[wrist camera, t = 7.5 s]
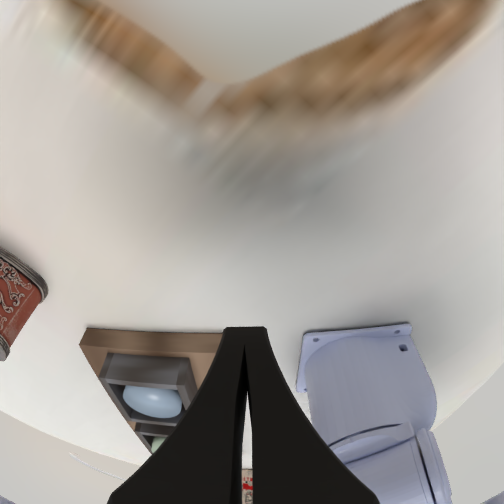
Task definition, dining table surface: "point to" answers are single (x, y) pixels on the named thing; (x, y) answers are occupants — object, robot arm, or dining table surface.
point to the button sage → (157, 443)
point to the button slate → (153, 401)
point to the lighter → (17, 298)
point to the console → (149, 369)
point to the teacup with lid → (246, 486)
